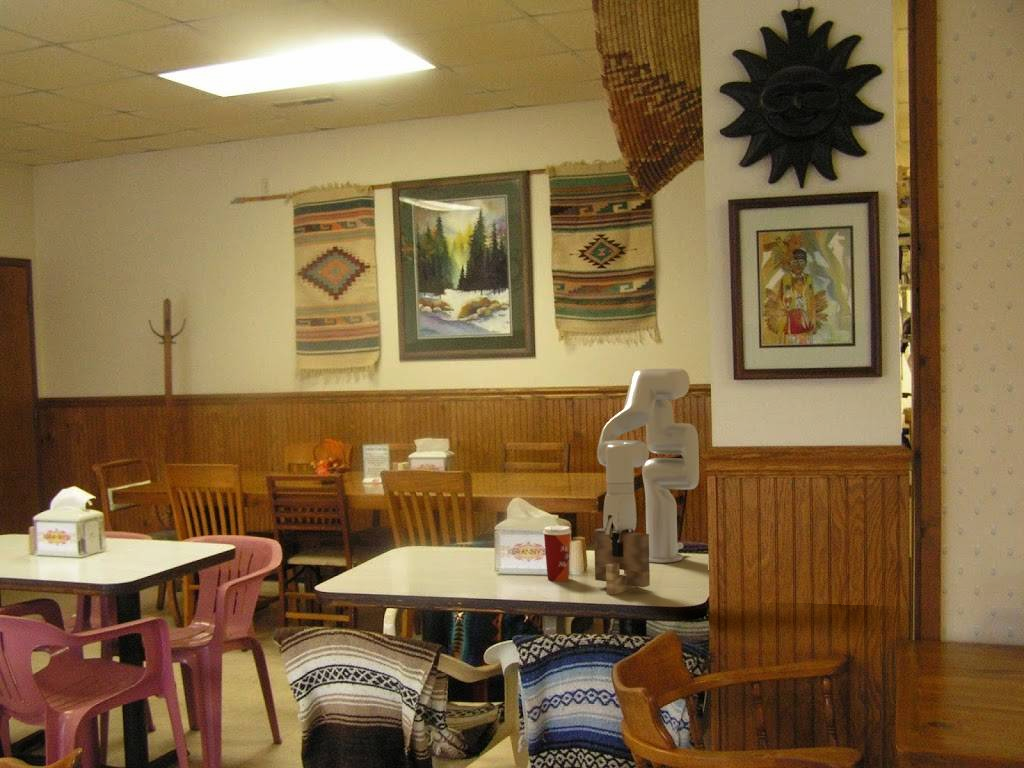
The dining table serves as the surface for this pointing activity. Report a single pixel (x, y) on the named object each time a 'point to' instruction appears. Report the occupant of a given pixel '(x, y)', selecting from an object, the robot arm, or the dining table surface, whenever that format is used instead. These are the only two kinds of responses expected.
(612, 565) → the brown u-shaped block
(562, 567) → the coffee cup
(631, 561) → the walnut block
